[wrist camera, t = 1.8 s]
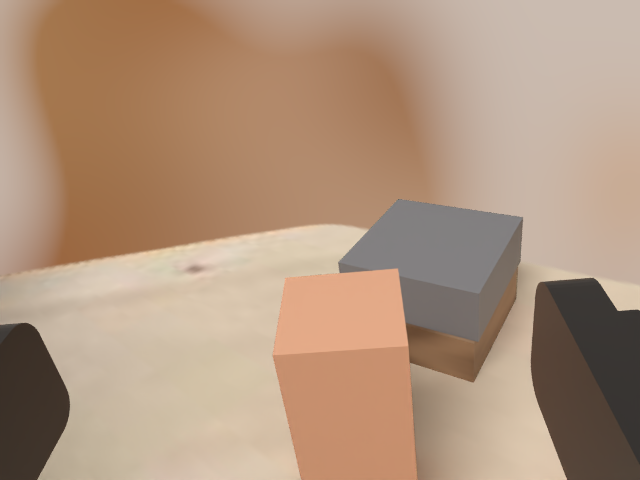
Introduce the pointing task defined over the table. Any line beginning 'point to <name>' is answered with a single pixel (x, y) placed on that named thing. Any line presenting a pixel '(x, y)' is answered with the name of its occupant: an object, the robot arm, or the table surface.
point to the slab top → (443, 262)
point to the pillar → (347, 376)
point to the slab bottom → (458, 343)
